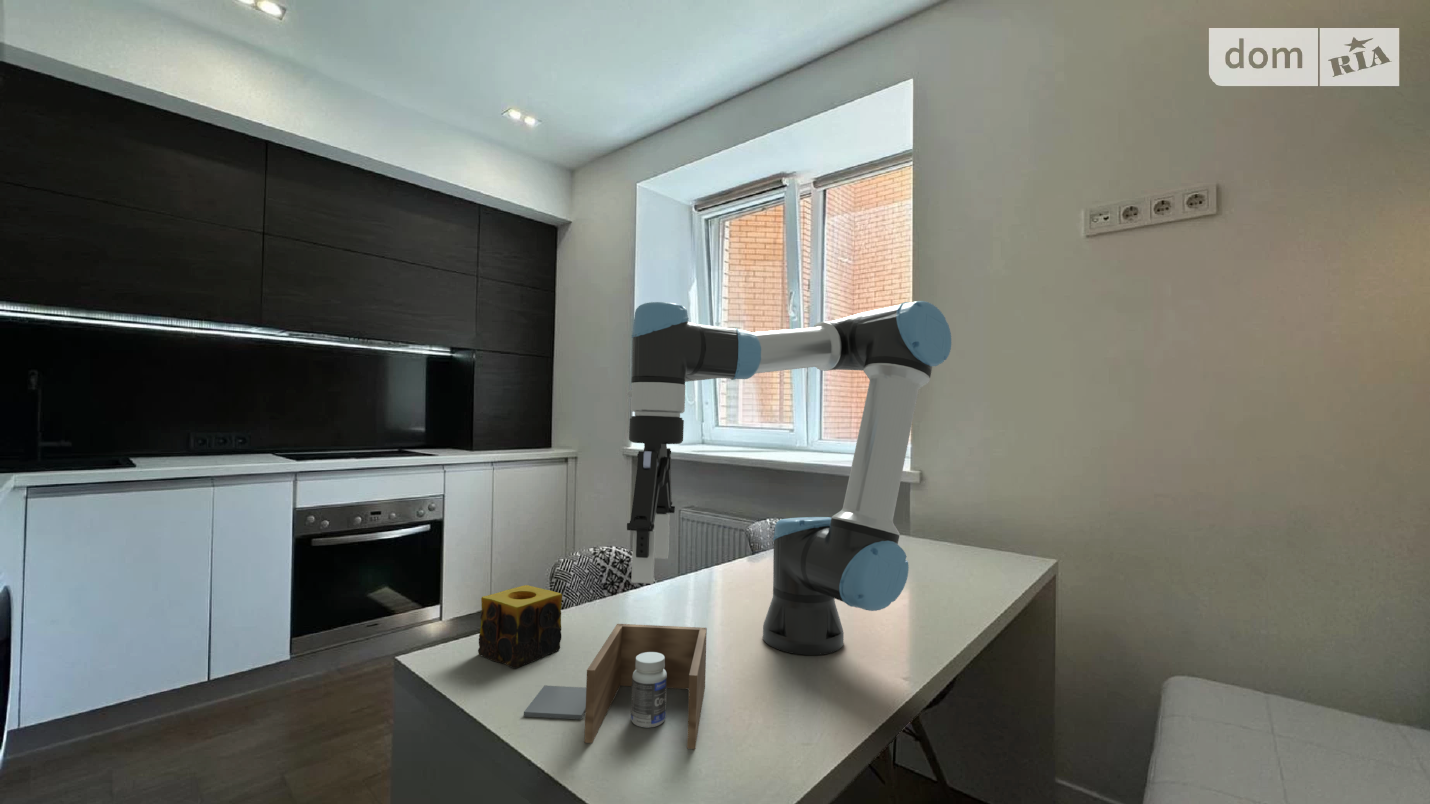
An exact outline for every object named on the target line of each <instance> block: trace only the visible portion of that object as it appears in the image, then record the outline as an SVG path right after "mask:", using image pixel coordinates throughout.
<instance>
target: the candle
mask: <svg viewBox="0 0 1430 804" xmlns="http://www.w3.org/2000/svg"><path fill="white" fill-rule="evenodd" d="M480 599H481V603H480V605H481V613H480V629H479V635H478V637H479V638H478V646H479V647H478V649H477V652H478V655H479V656H481V657H482V658H486V659H487V660H491V661H493V662H495V663H498V664H500V663H501V664H505V665H507V666H508V667H510V668H512V669H517V668H520V667H522V666H524V665H528V664H530V663H532V662H534V661H537V660H539V659H543V658H544V657H546V656H549V655H552V654H553V653H556V652H558V651H560V649H561V641H562V610H561V609H562V607H563V606H562V601H563V594H562V593H560V592H556V591H553V590H550V589H545V588H541V587H536V586H533V585H528V584H525V585H520V586H515V587H513V588H509V589H505V590H503V591H499V592H496V593H492V594H487V595H484V596H481V598H480Z"/></svg>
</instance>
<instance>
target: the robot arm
mask: <svg viewBox="0 0 1430 804" xmlns="http://www.w3.org/2000/svg"><path fill="white" fill-rule="evenodd" d="M688 315H689V313H688V310H687V308H686V307H685V306H684V305H680V304H678V303H674V302H667V301H665V302H664V301H651V302H645V303H642V304H640V305H639V306H637V307H636V308H635V311H634V317H633V324H632V334H631V338H632V344H631V345H632V346H631V348H632V349H631V350H632V352H631V359H632V360H631V381H630V382H631V385H630V386H631V387H630V388H631V389H629V390H627V392H626V396H627V398H630V411H631V412H633V413H634V415H631V416H630V418H629V425H628V429H629V431H628V432H629V433H628V440H629V442H631V443H632V444H633V443H635V444H644V445H643V446H644V447H643V450H640V451H639V450H638V452H637V455H636V456H637V463H636V464H637V467H636V473H635V474H636V475H635V484H634V492H633V499H632V505H631V506H632V507H631V514H630V520H629V522H626V523H627V524H626V531H630V532H631V531H632V556H631V578H630V579H631V581H630V582H631V583H634V584H654V582H655V581H654V578H655V559H664V560H668V559H669V551H670V549H669V547H670V546H669V545H670V518H671V514H675V513H676V512H675V511H676V506H675V505H673V501H672V500H673V499H672V474H671V473H672V472H671V471H672V470H671V469H672V468H671V466H672V457H671V455H672V450H671V448H670V447H667V445H680V444H682V443H683V442H684V427H685V426H684V425H685V424H684V423H685V421H684V419H683V417H681V414H684V413H685V408H686V407H685V403H686V383H687V382H688V383H689V382H695V381H706V380H715V379H728V380H729V379H730V380H731V381H735V380H748V379H751V378H752V377H753V376H755V375H756V374H763V373H774V372H781V371H789V370H800V369H808V368H816V369H817V370H819V371H824V372H825V371H837V370H839V371H840V370H841V371H863V372H864V374H865V376H866V377H867V378H868V379H869V383H868V388H867V393H866V396H865V402H864V407H863V411H862V415H861V421H860V425H859V429H858V434H857V439H856V444H855V448H854V454H853V457H852V463H851V469H850V473H849V476H848V482H847V486H846V492H845V495H844V501H843V506H842V509H841V510H840V511H838V512H837V513H834V515H832V516H831V517H830V516H829V517H828V516H808V517H806V516H805V517H790V518H783V519H782V518H781V519H779V520H777V521H776V523H775V526H774V532H773V538H772V542H773V554H772V555H773V566H772V567H773V573H772V575H773V577H772V598H771V601H770V604H769V606H768V609H767V613H766V616H765V619H764V621H763V625H762V640H763V641H764V642H765V643H766V644H767V645H768V646H770V647H771V648H774V649H776V650H778V651H782V652H784V653H789V654H794V655H795V654H796V655H802V656H803V655H805V656H818V655H819V656H820V655H827V654H828V655H829V654H832V653H835V652H837V651H839V650H840V649H842V648H843V646H844V633H845V632H844V628H843V626H842V625H843V624H842V622H841V618H840V615H839V612H838V608H837V605H836V600H838V601H840V602H843V603H844V604H846V605H847V606H849V607H851V608H852V607H853V608H857V609H858V608H859V609H862V610H864V611H869V612H877V611H881V610H884V609H886V608H887V607H889V606H890V605H891V604H892V603H894V602H895V601H896V600H897V599H898V598H899V597H900V595H901V594H902V593H903V590H904V589H905V587H906V584H907V581H908V577H909V560H908V559H907V554H906V551H905V550H904V549H903V548H902V547H901V546H900V545H899V540H900V535H901V533H900V531H899V530H898V529H897V527H896V525H895V524H894V517H895V511H896V506H897V500H898V497H899V491H900V485H901V480H902V476H903V471H904V466H905V461H906V455H907V451H908V445H909V440H910V436H911V431H912V430H911V429H912V424H913V421H914V420H913V419H914V416H915V410H916V405H917V399H918V395H919V390H920V389H921V388H923V387H924V386H926V385H927V384H929V383H930V381H931V376H932V371H933V367H937V366H939V365H941V364H943V363H944V362H945V361H946V360H947V359H948V357H949V355H950V353H951V349H952V333H951V329H950V326H949V323H948V321H947V319H946V317H945V315H944V313H942V311H941V310H940V309H939V308H938V307H937V306H936V305H934V304H933V303H931V302H929V301H925V300H917V301H916V300H915V301H912V302H910V301H904V302H901V303H900V304H897V305H891V306H887V307H882V308H877V309H873V310H867V311H862V312H859V313H856V314H853V315H849V316H845V317H843V318H838V319H834V320H830V321H819V322H817V323H815V324H814V325H813V326H812V327H806V328H804V327H803V328H793V329H792V328H790V329H779V330H778V329H777V330H768V331H767V330H766V331H755V332H754V331H752V332H751V331H749V330H748V331H747V330H744V329H739V328H737V327H734V328H730V327H723V326H715V325H707V324H698V323H695V322H690V320H689V316H688Z"/></svg>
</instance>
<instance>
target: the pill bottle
mask: <svg viewBox="0 0 1430 804" xmlns="http://www.w3.org/2000/svg"><path fill="white" fill-rule="evenodd" d="M664 667H665V657H664V655H663V654H661V653H657V652H645V653H641V654H639V655H637V656H636V662H635V668H636V670H635V671H634V672H633V675H632V686H631V703H630V705H631V707H630V708H631V709H630V720H631V723H633V724H634V725H635V726H637V727H639V728H648V729H650V728H654V727H658V726H661V725H662V724H663V723H664V722H665V720H666V716H667V715H666V714H667V712H666V711H667V689H668V688H667V673H666V671H665V669H664Z"/></svg>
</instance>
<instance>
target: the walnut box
mask: <svg viewBox="0 0 1430 804" xmlns="http://www.w3.org/2000/svg"><path fill="white" fill-rule="evenodd" d="M707 630H708V628H707V627H702V626H701V627H700V626H699V627H698V626H697V627H696V626H679V625H678V626H676V625H655V624H636V623H635V624H627V623H616V624H615V626H614V628H613V629H612V631H611V633H610V634H609V636H608V637H607V638H606V640H605V642H604V643H603V645H602V646H601V647H600V649H599V651H598V652H597V654H596V655H595V657H594V658H593V660H592V662H590V665H589V666H588V668H587V669H586V685H585V686H586V712H585V714H584V741H583V742H584V744H593V743H594V741H595V738H596V736H597V734H598V733H599V730H600V728H601V726H602V724H603V722H604V720H605V718H606V715H607V714H608V712H609V710H610V709H611V706H612V703H613V702H614V700H615V697H616V695H617V694H618V691H619V689H620V687H621V686H623V687H632V675H633V672H634V671H635V670H636V668H635V662H636V656H637V655H639V654H641V653H645V652H657V653H661V654H663V655H664V657H665V667H664V669H665V671H666V673H667V688H666V689H676V690H677V689H678V690H679V689H682V690H688V701H687V703H688V705H687V706H688V707H687V708H688V709H687V711H688V712H687V714H688V715H687V741H686V742H687V746H686V749H688V750H689V749H690V750H696V745H697V741H698V736H699V735H698V734H699V726H700V720H701V715H702V708H703V703H704V696H705V691H706V690H705V689H706V673H707V672H706V669H707V667H706V666H707V665H706V664H707V634H708V633H707Z"/></svg>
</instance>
